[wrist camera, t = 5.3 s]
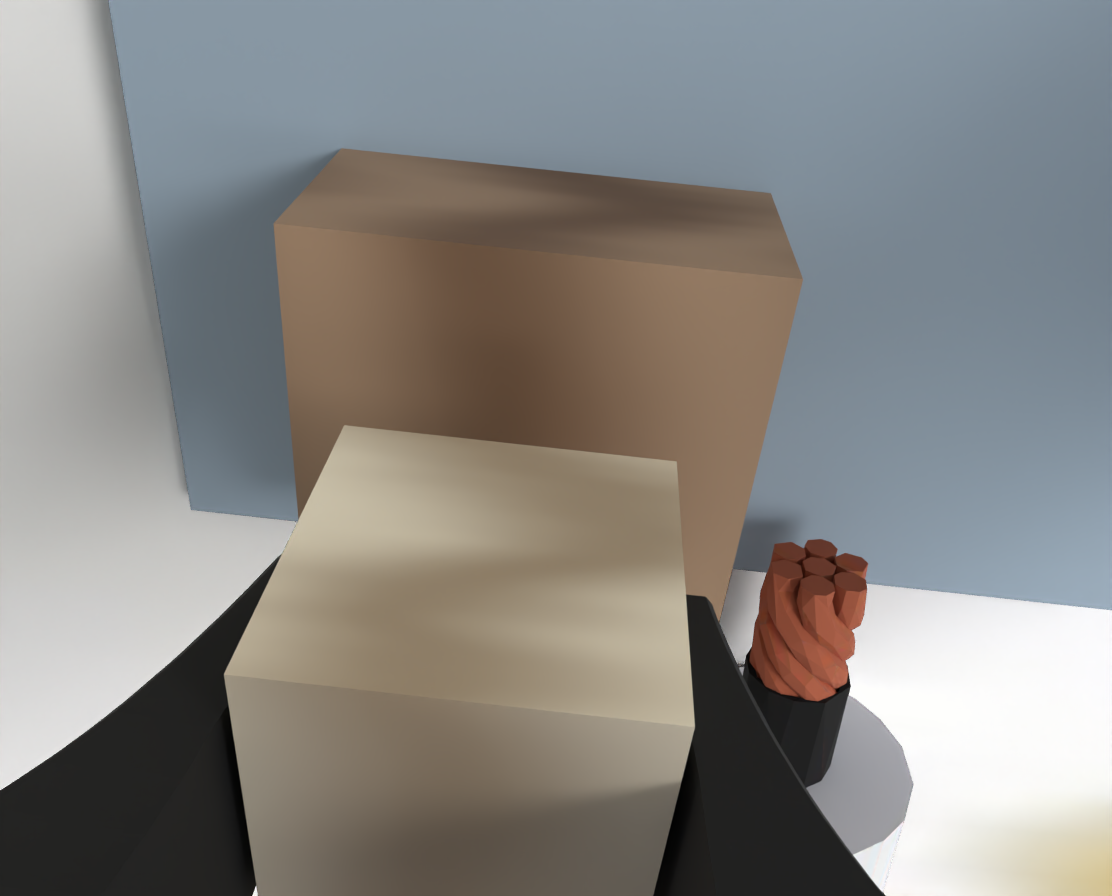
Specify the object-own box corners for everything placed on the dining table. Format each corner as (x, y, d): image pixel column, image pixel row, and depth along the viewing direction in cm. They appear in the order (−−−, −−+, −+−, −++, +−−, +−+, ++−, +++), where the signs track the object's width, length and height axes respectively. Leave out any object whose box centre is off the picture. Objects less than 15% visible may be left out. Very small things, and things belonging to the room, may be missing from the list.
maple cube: (676, 461, 13) (695, 726, 9) (633, 692, 15) (633, 976, 11) (343, 424, 13) (223, 674, 9) (354, 661, 15) (264, 933, 11)
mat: (1744, -600, 12) (1795, -619, 11) (1102, 593, 23) (1114, 610, 22) (7, -764, 12) (-20, -789, 12) (200, 494, 23) (191, 509, 23)
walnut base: (771, 193, 18) (803, 278, 14) (698, 531, 22) (710, 657, 19) (341, 148, 18) (272, 223, 14) (356, 494, 22) (305, 613, 19)
